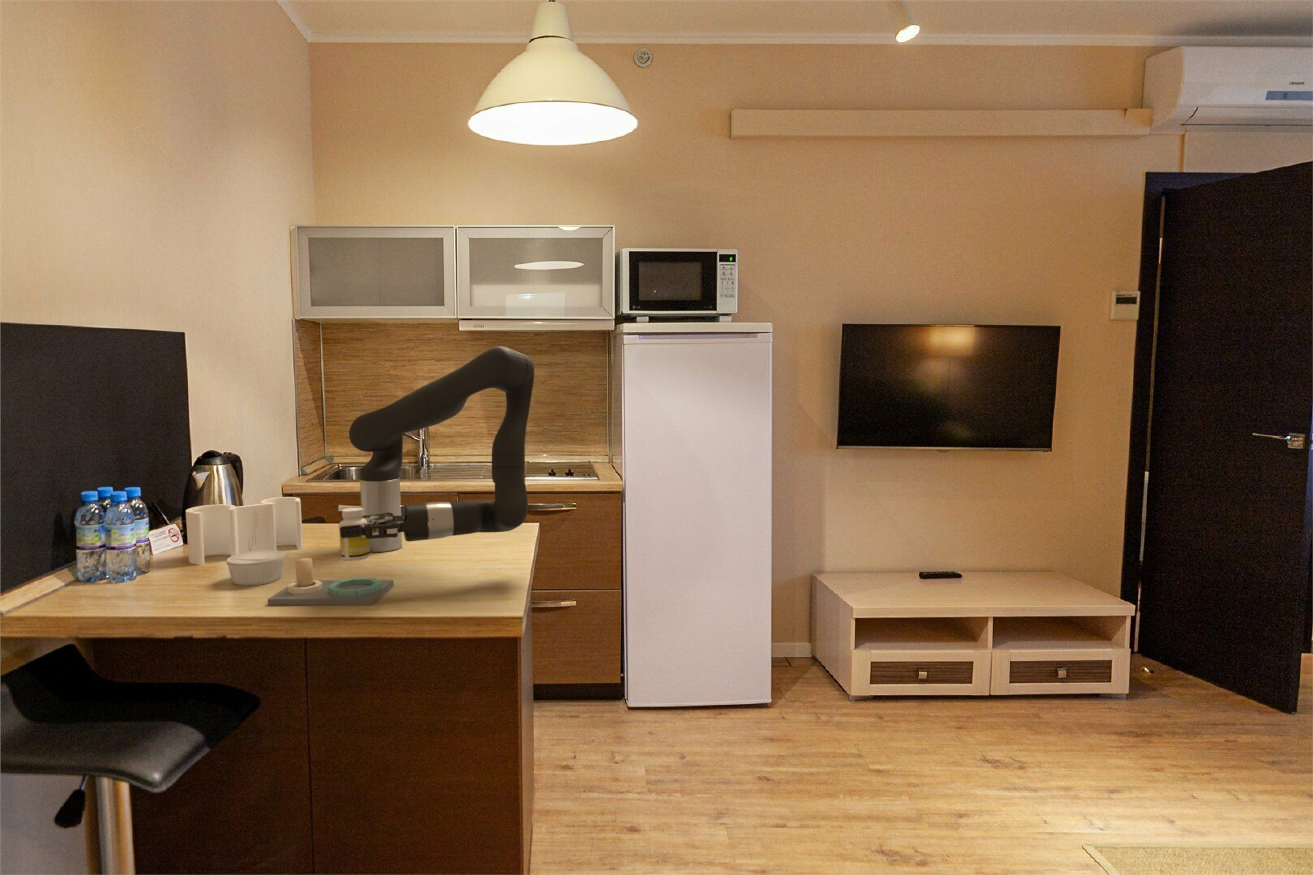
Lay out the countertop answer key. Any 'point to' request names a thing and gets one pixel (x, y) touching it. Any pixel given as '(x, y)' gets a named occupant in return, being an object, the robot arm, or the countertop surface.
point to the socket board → (329, 589)
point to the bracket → (243, 528)
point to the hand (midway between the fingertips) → (340, 529)
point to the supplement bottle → (354, 545)
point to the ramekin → (256, 567)
